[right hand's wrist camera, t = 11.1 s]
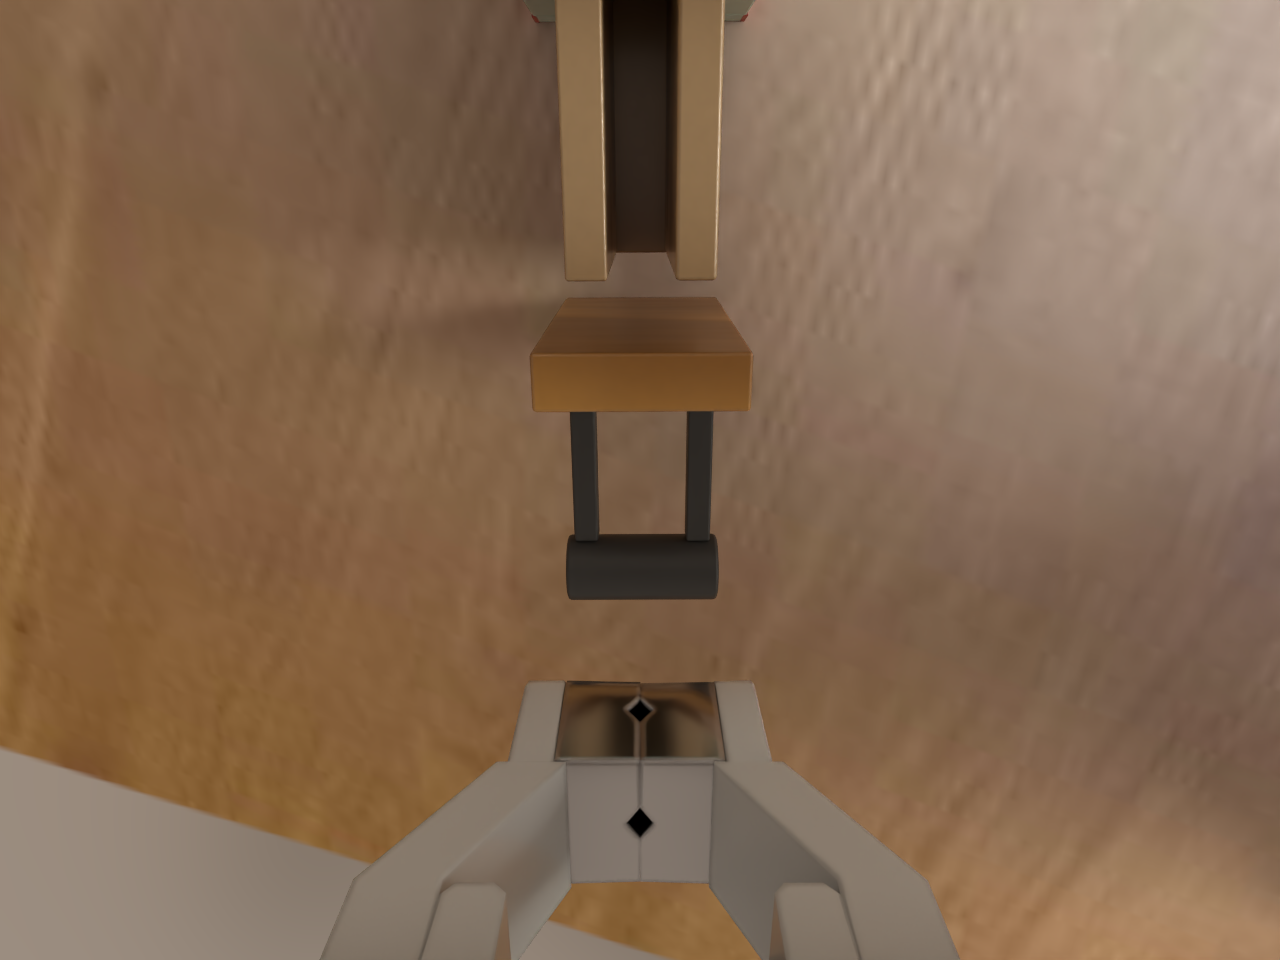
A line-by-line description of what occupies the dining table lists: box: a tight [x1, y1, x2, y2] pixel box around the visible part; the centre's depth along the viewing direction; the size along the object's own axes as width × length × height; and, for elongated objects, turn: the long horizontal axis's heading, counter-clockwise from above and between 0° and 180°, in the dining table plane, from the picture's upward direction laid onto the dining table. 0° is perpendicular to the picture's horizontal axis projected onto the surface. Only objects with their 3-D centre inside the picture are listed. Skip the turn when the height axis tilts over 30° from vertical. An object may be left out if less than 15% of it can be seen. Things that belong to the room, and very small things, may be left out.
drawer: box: [530, 0, 753, 600], centre depth 18 cm, size 22×4×8 cm, turn 0°
